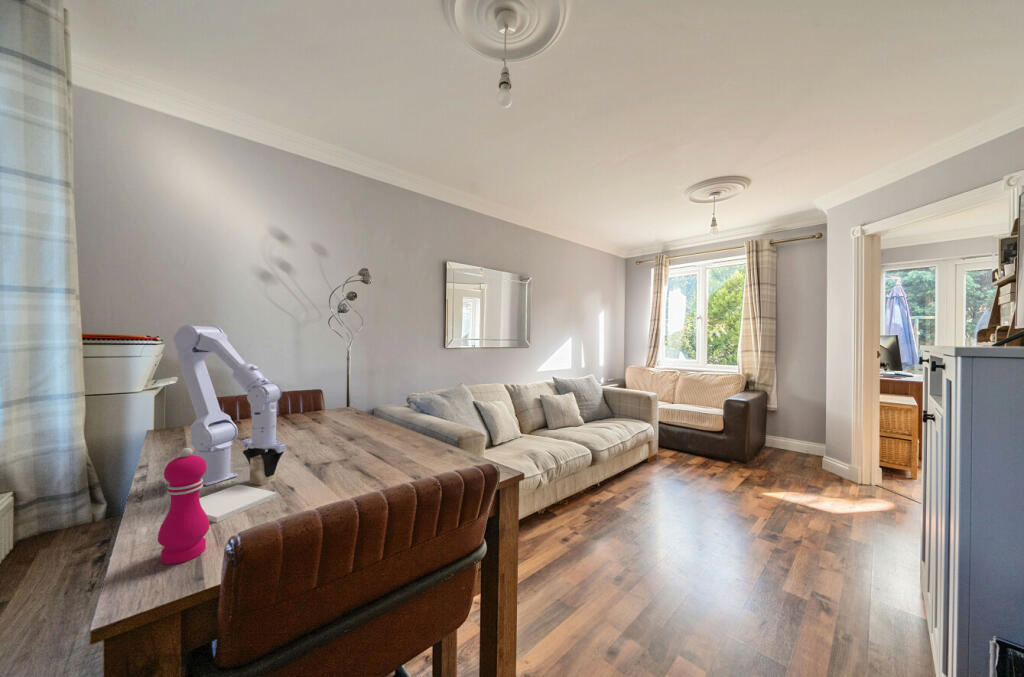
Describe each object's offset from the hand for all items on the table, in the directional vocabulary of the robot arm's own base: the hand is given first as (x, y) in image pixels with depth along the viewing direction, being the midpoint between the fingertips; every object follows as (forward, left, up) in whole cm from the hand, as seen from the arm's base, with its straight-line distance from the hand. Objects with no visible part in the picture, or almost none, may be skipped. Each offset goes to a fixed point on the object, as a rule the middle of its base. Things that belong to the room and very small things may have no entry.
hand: (263, 474), depth 104 cm
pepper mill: (+20, -30, -2) cm, 36 cm away
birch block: (0, 0, -2) cm, 2 cm away
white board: (+6, -13, -2) cm, 14 cm away
